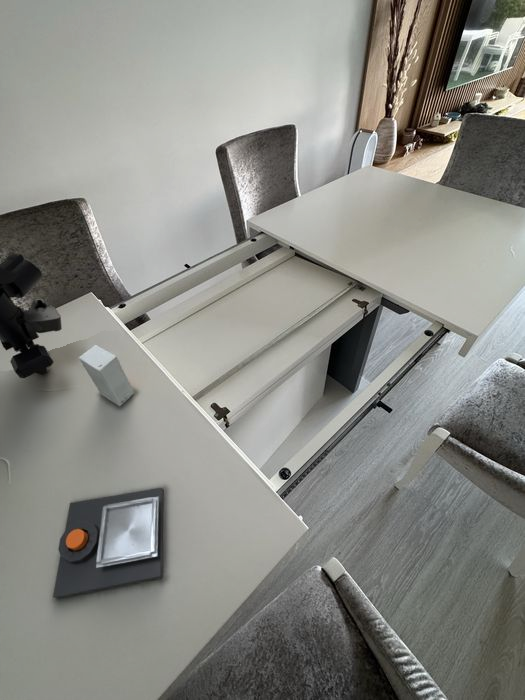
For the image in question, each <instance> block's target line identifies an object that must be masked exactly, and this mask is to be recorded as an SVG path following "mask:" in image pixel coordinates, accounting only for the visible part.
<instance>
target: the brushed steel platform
mask: <svg viewBox="0 0 525 700" xmlns="http://www.w3.org/2000/svg"><path fill="white" fill-rule="evenodd" d="M158 518H159V497H153V498H152V497H150V498H144V499H138V500H132V501H126V502H121V503H115V504H109V505H106V506H104V507H103V510H102V518H101V527H100V535H99V543H98V551H97V559H96V563H97V565H96V568H102V567H107V566H112V565H118V564H123V563H128V562H133V561H139V560H144V559H149V558H154V557H158Z"/></svg>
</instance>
